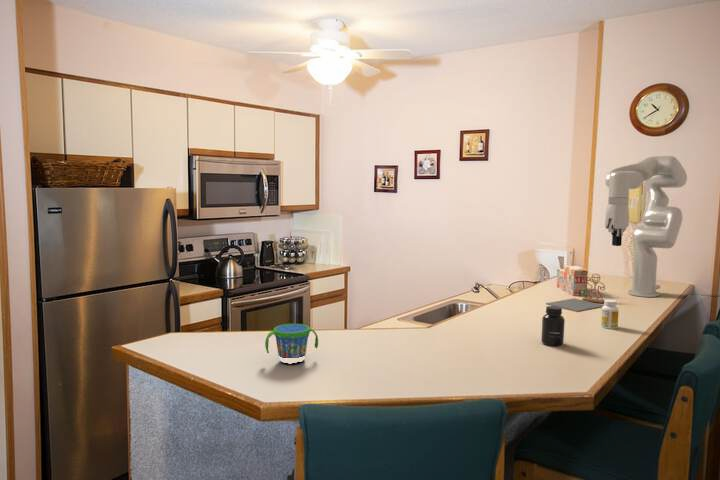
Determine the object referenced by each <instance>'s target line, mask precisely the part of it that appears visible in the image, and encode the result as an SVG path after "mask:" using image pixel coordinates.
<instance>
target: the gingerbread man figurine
mask: <svg viewBox="0 0 720 480" xmlns="http://www.w3.org/2000/svg"><path fill="white" fill-rule="evenodd" d="M595 275H597V276H595ZM587 278H588V280H587ZM587 278H586V282H587V286H588V285H589V286H591V287H590V291H589V292H588V293H587V296H585V297H583V298H581V300H584V301H588V302H593V303H598V304H604V301H605V300H606V299H603V296H602V294H601V293H600V291H605V290H606V287H605V284H604V283H603V282H601V276H600V274H598V273H594V274H592V275H591V277H590V276H588V277H587ZM589 282H590V283H591V282H592V283H593V284H590V283H589ZM598 283H599V284H601V285H602V286H601V285H598ZM593 285H594V289H593ZM597 285H598V286H597ZM599 290H600V291H599ZM592 291H594V292H593V293H592ZM595 291H597V293H598V294H599V296H597V294H596V292H595ZM591 293H592V295H590V294H591ZM593 296H595V297H596V298H592V297H593Z"/></svg>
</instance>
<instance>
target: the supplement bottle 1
mask: <svg viewBox="0 0 720 480" xmlns="http://www.w3.org/2000/svg"><path fill="white" fill-rule="evenodd" d="M562 314H563V308H561V307H557V306H551V305H547V306H546V307H545V314H543V316H542V318H541V319H542V320H541V321H542V322H541V336H540V337H541V340H540V341H541V343H542V344H543V345H544V346H545V345H546V346H548V345H549V347H561V346H563V345H564V341H565V321H566V320H565V318H564V316H563V315H562Z"/></svg>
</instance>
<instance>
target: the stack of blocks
mask: <svg viewBox="0 0 720 480" xmlns="http://www.w3.org/2000/svg"><path fill="white" fill-rule="evenodd" d="M556 274H557V275H556V277H557V278H556V287H557V288H559V289H560V290H561V291H563V292H565V293H567V294H569V295H570V294H571V296H572V297H586V296H587V295H588V284H587V282H588V281H587V282H586V278H587V277H589V276H588V275H589V270H588V269H586V268H584V267H581V266H579V265H564V267H563V268H557V269H556ZM587 280H589V278H587ZM587 297H588V296H587Z"/></svg>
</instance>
